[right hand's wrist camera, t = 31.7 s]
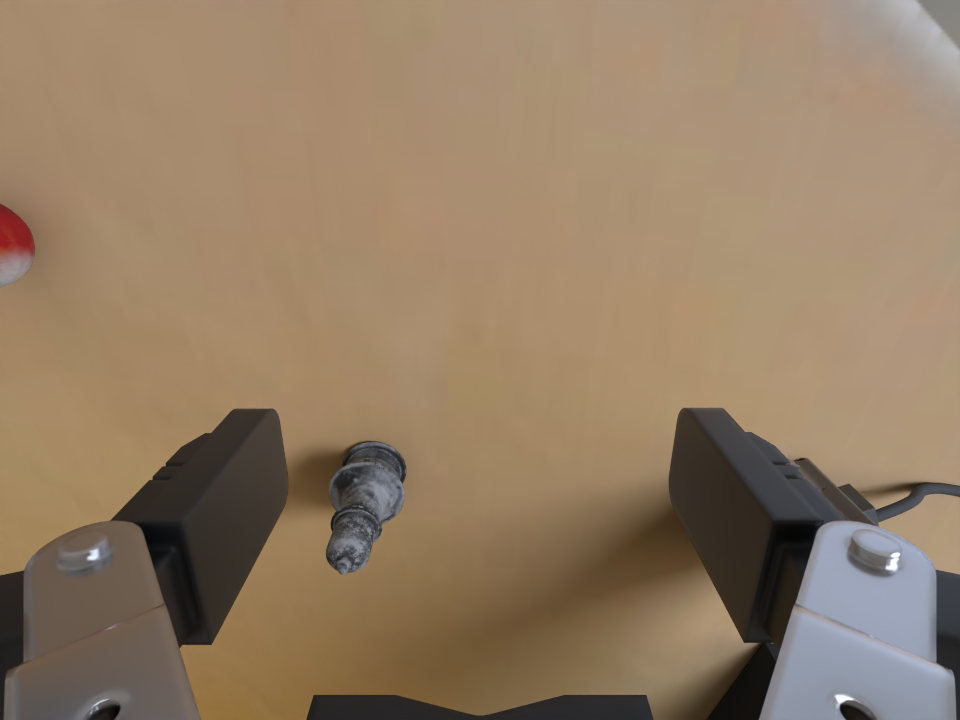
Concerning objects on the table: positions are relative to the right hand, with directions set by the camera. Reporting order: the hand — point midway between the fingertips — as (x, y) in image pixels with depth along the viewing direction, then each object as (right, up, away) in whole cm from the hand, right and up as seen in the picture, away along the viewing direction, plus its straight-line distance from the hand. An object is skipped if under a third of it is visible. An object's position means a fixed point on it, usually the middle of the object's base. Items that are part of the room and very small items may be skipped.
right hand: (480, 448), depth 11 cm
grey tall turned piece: (-9, -7, +35) cm, 37 cm away
